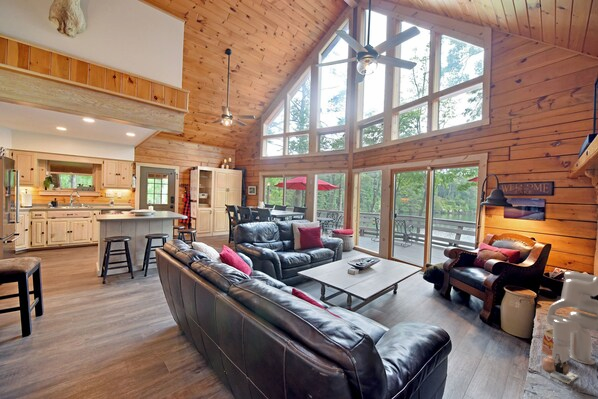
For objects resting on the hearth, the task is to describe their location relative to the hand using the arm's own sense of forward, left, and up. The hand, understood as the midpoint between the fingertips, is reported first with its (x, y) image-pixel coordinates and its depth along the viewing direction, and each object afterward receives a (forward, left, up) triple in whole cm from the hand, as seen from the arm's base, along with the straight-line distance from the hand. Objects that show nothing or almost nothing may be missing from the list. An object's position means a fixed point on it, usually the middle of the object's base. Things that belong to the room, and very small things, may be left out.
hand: (561, 371), depth 151 cm
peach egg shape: (-10, -7, -4) cm, 13 cm away
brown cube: (0, 0, -1) cm, 1 cm away
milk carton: (-27, -13, -5) cm, 30 cm away
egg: (-3, -7, -4) cm, 9 cm away
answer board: (-4, 0, -4) cm, 6 cm away
